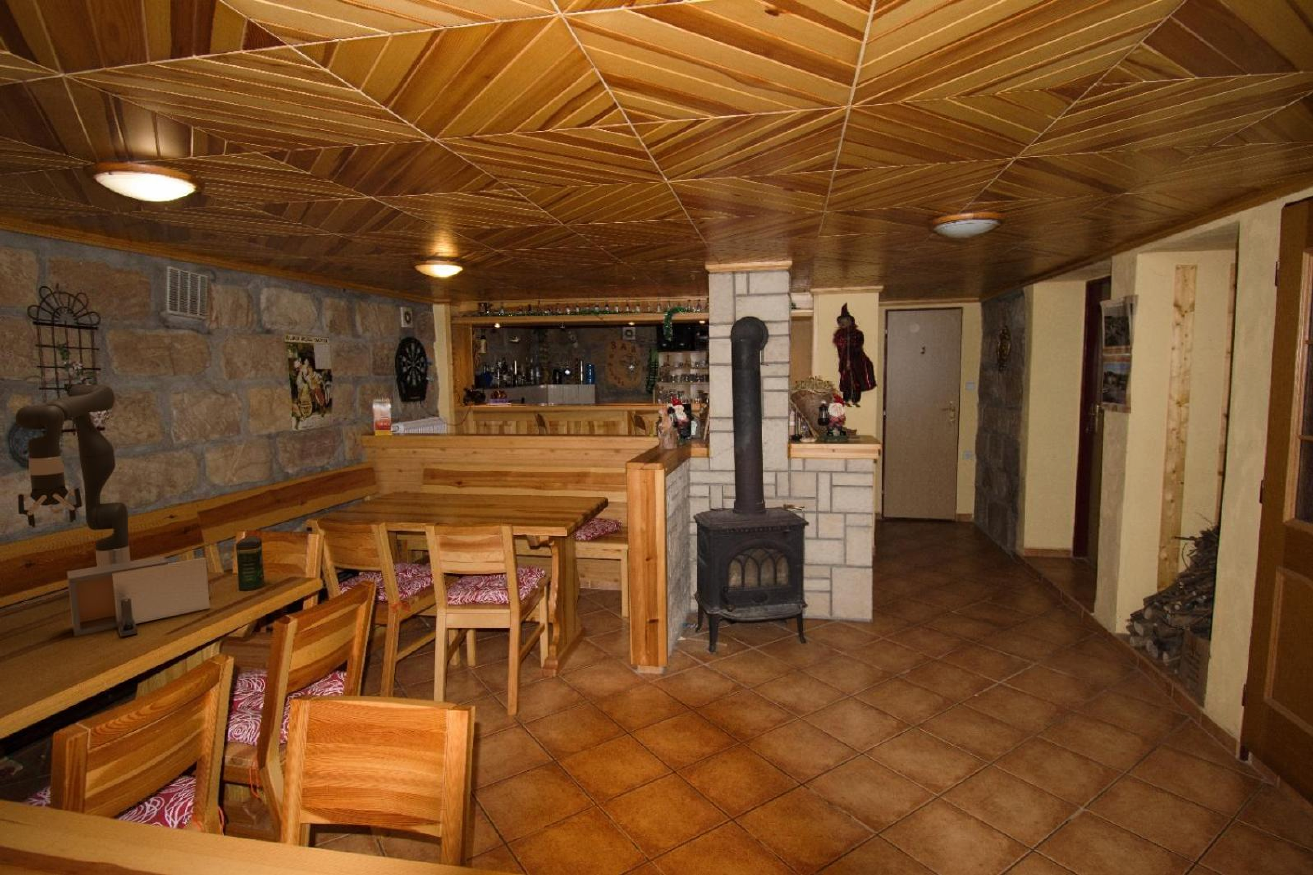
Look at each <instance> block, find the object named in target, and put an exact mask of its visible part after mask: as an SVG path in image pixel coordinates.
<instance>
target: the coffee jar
mask: <svg viewBox="0 0 1313 875" xmlns="http://www.w3.org/2000/svg"><path fill="white" fill-rule="evenodd" d="M235 552H236V562H237V563H236V564H237V584H238V589H239V590H243V591H244V590H245V591H251V590H254V589H259V588H261V587H263V585H264V584H265V572H264V571H265V570H264V558H263V556H264V555H263V554H264V553H263V541H262V538H261V537H260V536H258V535H252V536H245V537H244V538H241V539H240V540H238V541H237V542H236V543H235Z"/></svg>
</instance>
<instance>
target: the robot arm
mask: <svg viewBox="0 0 1313 875" xmlns="http://www.w3.org/2000/svg"><path fill="white" fill-rule="evenodd" d="M115 398H116V397H115V392H114V391H113V389H112V388H111V387H110V386H108V385H105V384H74V385H72V386H71V387H70V389H69V392H68V396H65V397H60V398H56V399H53V400H51V401H47V402H43V403H36V404H28V405H24V406H22V407H21V408H20V409H18V410H17V412H16V414H15V418H14V419H15V422H16V424H17V425H18V426H19V427H20V428H22V429H23V430H35V431H36V430H45V432H44V434H42V436H37V437H33V438H30V439H29V440H28V441H27V449H28V468H29V469H28V472H29V475H30V476H29V477H30V488H31V492H29V493H22V492H21V493H18V494H17V503H18V504H17V507H18V508H17V509H18V510H17V511H18V514H19V515H26V516H27V521H28V526H31V528H36V520H35V514H34V513H35V512H36V511H37V510H38V508H39V507H40V506H43V507H47V506H52V505H53V506H55V505H57V506H58V505H59V504H62V506H64V507H66V508H68V513H69V514H68V515H69V521H70V522H69V523H74V521H75V520H76V519H77V516H76V510H77V509H78V508H82V507H83V502H82V496H81V491H80V488H79V487H74V488H69V489H68V488H67V487H66V480H65V472H64V469H65V468H64V464H63V460H62V459H63V458H62V455H61V447H60V442H61V436H62V432H63V431H62V430H63V427H64V424H65V422H67V421H68V420H72V419H73V423H74V427H75V430H76V437H77V443H78V444H77V445H78V454H79V455H78V456H79V462H80V469H81V472H82V479H83V488H84V506H85V521H86V524H87V527H88V528H89V529H90V530H92V531H101V530H102V531H103V530H113V533H112V534H111V535H109V536H107V537H104V538H100V539H98V540H97V541H96V542H94V543H95V544H94V548H95V557H96V567H98V566H104V565H110V564H116V563H122V562H129V561H131V555H130V554H131V553H130V552H131V551H130V542H129V541H130V540H129V538H130V537H129V536H130V535H129V513H128V507H127V505H126V504H125V503H124V502H108V503H107V502H106V503H105V502H104V503H101V494H102V491H103V489H104V486H105V485H106V483H107V482H108V480H109V478H110V477H111V476H112V474H113V473H114V471H115V467H116V458H115V457H116V456H115V450H114V447H113V445H112V443H111V442H110V441H109V440H108V439H107V438H106V437H105V436H104V435H103V434H102V433H101V432H100V431H99V429H98V428H96V426H95V424H94V423H93V420H92V418H91V417H92V416H91V413H94V412H104V411H109V410H111V409H112V408H113V407H114V404H115V400H116V399H115ZM68 494H70V495H71V496H73V497H75V502H76V503H74V504H72V503H71V502H70V501H69V500H67V499H66V497H67V496H68ZM29 498H31V499H32V500H34V502H33V504H32V505H31V507H29V509H25V502H26V501H27V500H29Z"/></svg>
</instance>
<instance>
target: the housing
mask: <svg viewBox="0 0 1313 875" xmlns="http://www.w3.org/2000/svg"><path fill="white" fill-rule="evenodd" d="M163 564H169V562H168V560H167V558H165V556H164V555H161V556H155V557H154V556H153V557H148V558H143V559H136V560H130V561H129V562H122V563H116V564H110V565H104V566H98V567H97V566H93V567H88V568H87V567H86V568H80V569H74V570H68V571H66V574H67V582H68V592H69V594H68V595H69V601H70V611H71V612H70V613H71V620H72V621H71V622H72V623H71V624H72V629H73V634H74V637H75V636H76V637H80V636H84V635H88V634H89V635H90V634H94V633H98V632H103V631H108V630H111V629H112V630H113V629H116V628H117V629H118V627H117V620H116V610H115V600H114V589H113V579H112V573H116V572H122V571H128V570H134V569H140V568H146V567H152V566H157V565H163Z"/></svg>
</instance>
